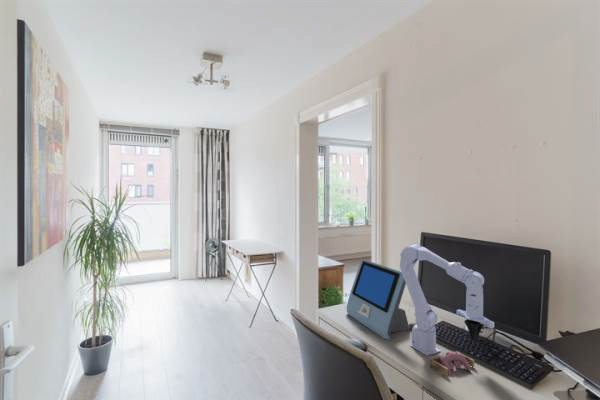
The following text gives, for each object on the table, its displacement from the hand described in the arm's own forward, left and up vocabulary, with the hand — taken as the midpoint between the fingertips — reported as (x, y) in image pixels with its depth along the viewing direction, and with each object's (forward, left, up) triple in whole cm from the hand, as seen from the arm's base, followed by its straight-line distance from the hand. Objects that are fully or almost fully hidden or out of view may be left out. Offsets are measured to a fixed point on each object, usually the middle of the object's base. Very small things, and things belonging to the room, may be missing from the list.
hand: (474, 339), depth 122 cm
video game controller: (0, -10, -10) cm, 14 cm away
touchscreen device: (-46, -9, -10) cm, 48 cm away
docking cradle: (-1, -10, -9) cm, 14 cm away
